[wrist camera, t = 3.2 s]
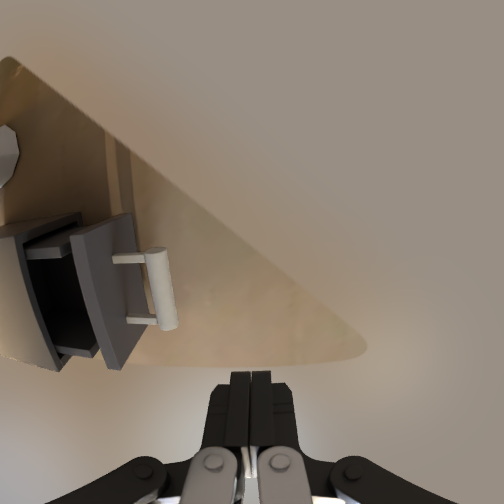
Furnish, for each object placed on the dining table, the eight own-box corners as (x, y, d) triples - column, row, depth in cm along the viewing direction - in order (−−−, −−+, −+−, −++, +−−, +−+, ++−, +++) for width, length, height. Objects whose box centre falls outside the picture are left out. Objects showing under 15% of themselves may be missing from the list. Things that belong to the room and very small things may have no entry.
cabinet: (81, 211, 23) (13, 235, 14) (104, 318, 26) (59, 372, 17) (4, 224, 23) (-51, 246, 14) (26, 311, 27) (-17, 348, 18)
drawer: (178, 208, 22) (143, 228, 15) (193, 320, 25) (173, 375, 18) (35, 225, 23) (-16, 245, 15) (57, 314, 26) (19, 350, 18)
